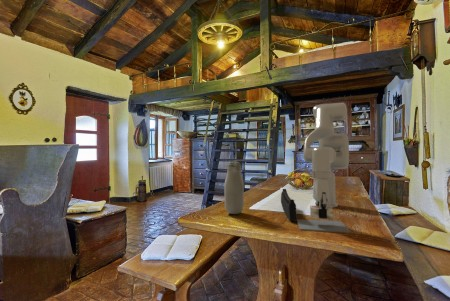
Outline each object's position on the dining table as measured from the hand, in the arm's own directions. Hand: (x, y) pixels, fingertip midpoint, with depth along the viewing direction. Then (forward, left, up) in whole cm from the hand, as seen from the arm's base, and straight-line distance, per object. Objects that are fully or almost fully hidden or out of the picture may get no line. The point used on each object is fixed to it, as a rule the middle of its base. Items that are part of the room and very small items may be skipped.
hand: (321, 215), depth 104 cm
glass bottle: (-14, -41, -5) cm, 43 cm away
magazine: (-18, -13, -5) cm, 23 cm away
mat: (0, 0, -5) cm, 5 cm away
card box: (0, 0, -1) cm, 1 cm away
